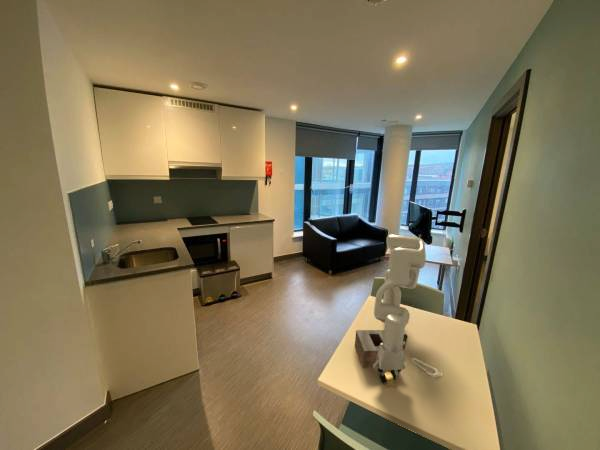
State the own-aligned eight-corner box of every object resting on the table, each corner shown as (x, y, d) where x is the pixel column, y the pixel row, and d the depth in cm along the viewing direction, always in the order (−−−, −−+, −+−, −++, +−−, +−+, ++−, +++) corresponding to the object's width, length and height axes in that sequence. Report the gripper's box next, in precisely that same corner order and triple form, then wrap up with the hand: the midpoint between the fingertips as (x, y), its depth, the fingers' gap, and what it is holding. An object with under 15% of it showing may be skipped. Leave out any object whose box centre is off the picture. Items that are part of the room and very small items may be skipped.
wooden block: (387, 375, 105) (388, 368, 104) (393, 387, 99) (394, 380, 99) (381, 375, 105) (382, 368, 104) (386, 387, 99) (387, 380, 99)
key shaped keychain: (408, 365, 112) (408, 362, 112) (412, 359, 116) (412, 356, 115) (439, 381, 103) (439, 378, 103) (442, 374, 107) (443, 371, 106)
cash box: (385, 345, 123) (387, 330, 121) (397, 367, 109) (399, 350, 107) (354, 345, 122) (356, 330, 120) (362, 367, 109) (364, 350, 107)
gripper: (407, 337, 102) (402, 373, 106) (369, 337, 101) (365, 373, 106) (416, 350, 95) (410, 388, 99) (375, 350, 94) (371, 388, 98)
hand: (387, 380), depth 102 cm, fingers open, 3 cm apart
